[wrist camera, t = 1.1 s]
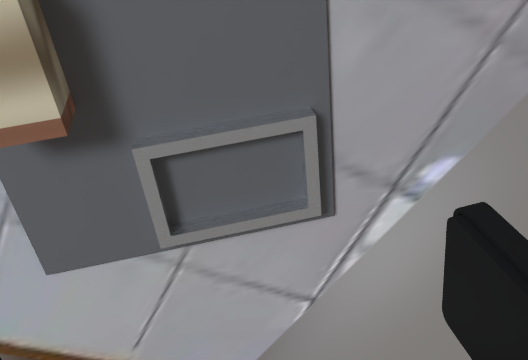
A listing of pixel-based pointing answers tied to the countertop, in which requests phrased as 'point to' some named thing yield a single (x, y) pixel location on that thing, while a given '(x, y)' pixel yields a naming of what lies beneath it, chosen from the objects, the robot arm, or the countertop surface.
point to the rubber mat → (168, 120)
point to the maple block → (30, 78)
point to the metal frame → (225, 135)
